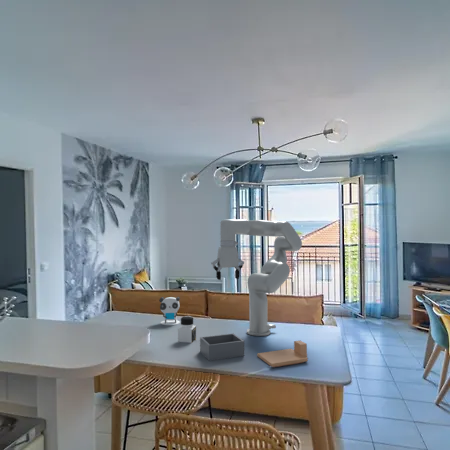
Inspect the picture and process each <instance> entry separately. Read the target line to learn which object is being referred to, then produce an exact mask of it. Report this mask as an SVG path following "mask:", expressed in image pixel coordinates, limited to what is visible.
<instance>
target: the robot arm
mask: <svg viewBox="0 0 450 450" xmlns="http://www.w3.org/2000/svg"><path fill="white" fill-rule="evenodd" d="M297 232H298V231H296V230H295V228H294V226H293V225H292V224H291V223H289V221H286V220H281V221H280V220H263V219H255V220H253V219H252V220H247V219H244V218H243V219H242V218H241V219H238V218H237V219H230V218H229V219H228V218H227V219H221V221H220V233H219V235H220V241H219V242H220V243H219V244H220V246H218V250H217V257H216V258H217V259H215V260H213V261H212V262H210V263H211V266H212V268H213V269H214V270H215V271H216V272H215V273H216V276H215V278H217V279H216V280H218V281H221V279H222V272H221V270H222V269H224V268H226V269H227V268H234V269H235V271H234V278H235V279H236V280H239V278H240V271H241V270H242V268H243V266H244V264H245V261H244V260H242V259H240V258H239V252H238V247H237V245H239V242H238V241H236V239H237V237H236V235H242V236H243V235H244V236H245V235H246V236H254V237H255V236H256V237H275V239H274V242H273V247H274V248H273V249H274V250H273V251H274V252H273V254H272V256H271V257H270V258H269V259H268V260H267V261H266V262H265V263H264V264H263V265H262V267H261V269H260V270H261V271H260V272H254V273H251V274H250V275H249V276H248V278H247V288H248V294H249V295H248V296H249V297H248V298H249V306H248V307H249V319H248V320H249V327H248V328H247V329H246V334H247V335H250V336H253V337H265V336H269V335H270V334H271V329H276V328H277V326H276V324H271V323H270V324H269V323H268V297H267V294H274V293H275V292H277V291H278V290H279V289H280V287H281V286H283V284H284V283H285V282H286V281H287V279H288V278H289V276H290V272H291V270H290V269H291V268H290V266H289V264H288V263H287V262H288V257H287V253H286V252H297V251H299V250H301V248H302V245H303V242H302V238H301V237H300V235H299V234H298V233H297Z"/></svg>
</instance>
